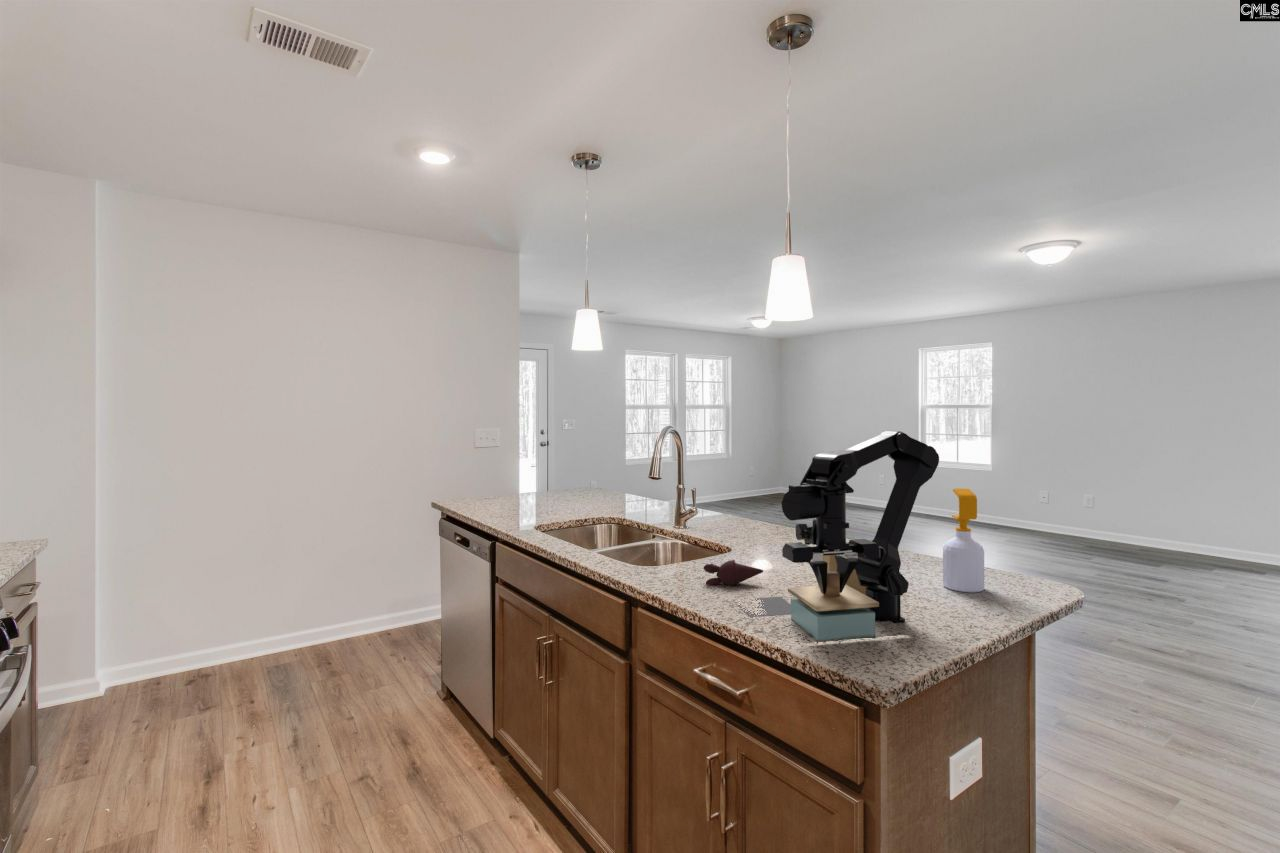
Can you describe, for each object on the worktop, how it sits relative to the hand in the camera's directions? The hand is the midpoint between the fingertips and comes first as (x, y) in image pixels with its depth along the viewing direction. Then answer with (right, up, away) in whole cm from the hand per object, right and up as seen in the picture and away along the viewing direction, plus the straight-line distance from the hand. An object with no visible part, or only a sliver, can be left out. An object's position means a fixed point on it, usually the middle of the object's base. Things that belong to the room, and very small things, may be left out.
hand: (831, 592), depth 121 cm
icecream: (-15, -7, +32) cm, 36 cm away
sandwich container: (+14, -7, +26) cm, 30 cm away
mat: (-10, -7, +13) cm, 19 cm away
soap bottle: (+42, -7, +28) cm, 51 cm away
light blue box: (0, -8, 0) cm, 8 cm away
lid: (0, -1, 0) cm, 1 cm away
